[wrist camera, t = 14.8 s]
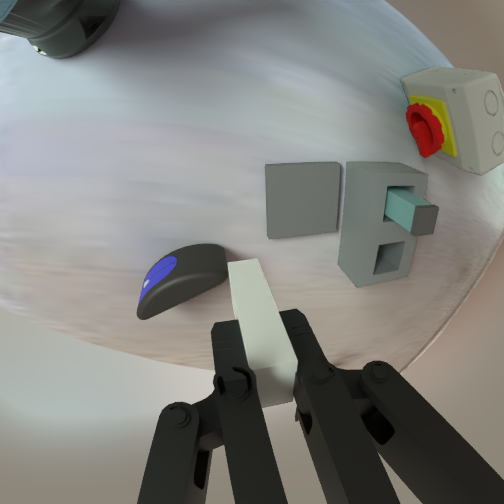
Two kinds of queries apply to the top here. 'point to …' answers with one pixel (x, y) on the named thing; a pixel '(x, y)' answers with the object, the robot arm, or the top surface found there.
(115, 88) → the top surface
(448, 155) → the electrical switch box
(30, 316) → the top surface
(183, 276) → the dark grey curved block
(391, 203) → the plug
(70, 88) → the top surface
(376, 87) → the top surface
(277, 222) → the block
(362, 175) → the junction block
